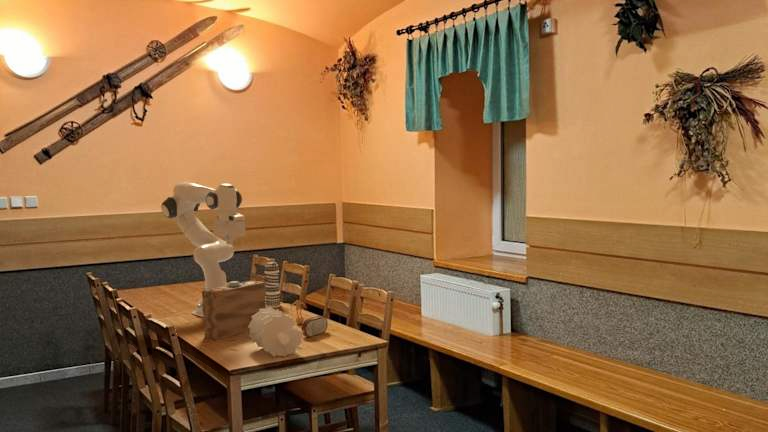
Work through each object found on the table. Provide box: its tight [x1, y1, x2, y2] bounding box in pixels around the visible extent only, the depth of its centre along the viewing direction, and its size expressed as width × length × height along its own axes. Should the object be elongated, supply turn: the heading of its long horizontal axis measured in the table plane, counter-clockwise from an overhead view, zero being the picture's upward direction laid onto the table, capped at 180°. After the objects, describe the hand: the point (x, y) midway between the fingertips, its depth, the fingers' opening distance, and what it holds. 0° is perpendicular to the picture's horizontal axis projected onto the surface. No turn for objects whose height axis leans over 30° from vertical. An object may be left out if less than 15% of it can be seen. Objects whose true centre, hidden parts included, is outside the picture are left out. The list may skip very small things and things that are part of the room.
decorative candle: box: [263, 261, 282, 309], centre depth 388 cm, size 9×9×25 cm
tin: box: [301, 315, 328, 338], centre depth 319 cm, size 15×3×8 cm, turn 141°
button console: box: [201, 280, 267, 340], centre depth 331 cm, size 10×30×22 cm, turn 143°
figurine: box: [290, 299, 308, 325], centre depth 343 cm, size 8×6×12 cm
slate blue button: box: [228, 280, 240, 288], centre depth 330 cm, size 5×5×2 cm
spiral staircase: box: [248, 307, 304, 358], centre depth 292 cm, size 18×18×25 cm
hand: (229, 244), depth 340 cm, fingers closed
